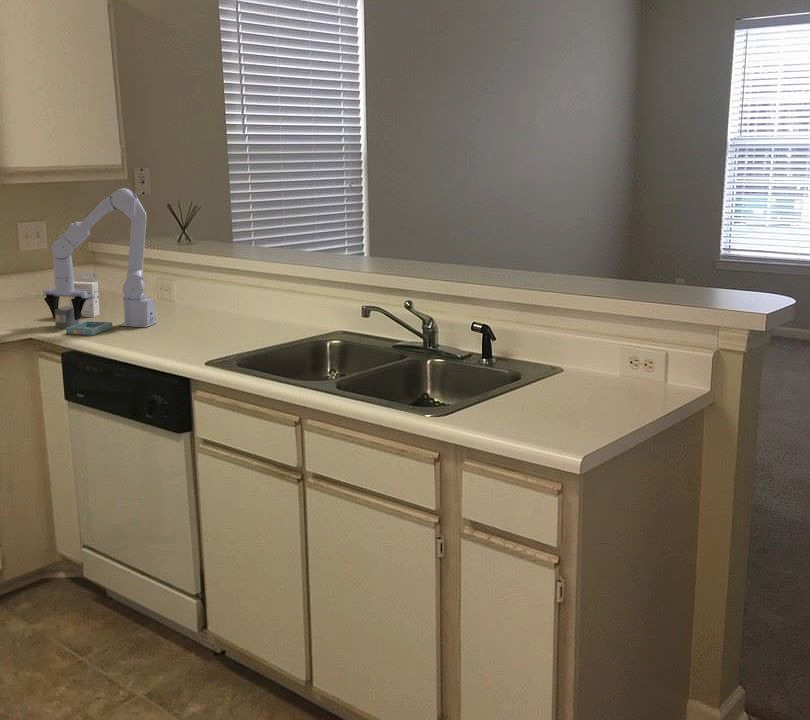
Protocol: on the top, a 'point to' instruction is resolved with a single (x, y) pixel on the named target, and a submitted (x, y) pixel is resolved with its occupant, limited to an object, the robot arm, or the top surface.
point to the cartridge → (65, 317)
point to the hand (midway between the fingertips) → (66, 318)
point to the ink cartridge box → (92, 298)
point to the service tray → (89, 328)
